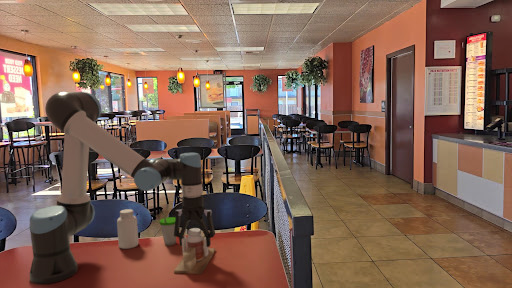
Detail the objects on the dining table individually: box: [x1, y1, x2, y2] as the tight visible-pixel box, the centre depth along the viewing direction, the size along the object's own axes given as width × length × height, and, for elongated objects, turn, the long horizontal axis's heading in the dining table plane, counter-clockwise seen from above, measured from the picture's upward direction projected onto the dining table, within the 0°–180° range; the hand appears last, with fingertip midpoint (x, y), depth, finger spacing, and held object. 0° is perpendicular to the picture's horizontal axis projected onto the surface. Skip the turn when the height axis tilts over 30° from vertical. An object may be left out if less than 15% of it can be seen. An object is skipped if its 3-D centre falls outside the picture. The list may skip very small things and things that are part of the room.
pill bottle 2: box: [186, 227, 204, 262], centre depth 144 cm, size 6×6×11 cm
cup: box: [158, 211, 177, 247], centre depth 162 cm, size 8×8×15 cm
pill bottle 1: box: [116, 208, 139, 250], centre depth 162 cm, size 8×8×15 cm
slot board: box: [173, 233, 216, 275], centre depth 145 cm, size 10×20×7 cm, turn 172°
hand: (195, 254), depth 145 cm, fingers open, 8 cm apart
